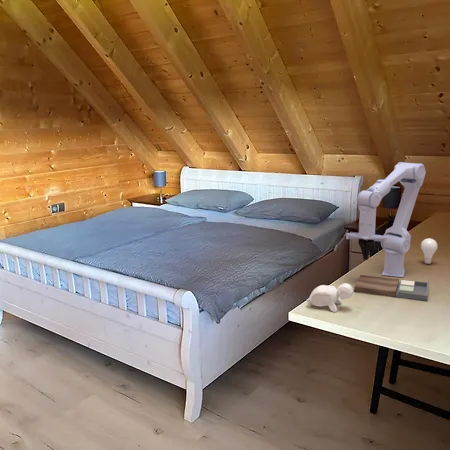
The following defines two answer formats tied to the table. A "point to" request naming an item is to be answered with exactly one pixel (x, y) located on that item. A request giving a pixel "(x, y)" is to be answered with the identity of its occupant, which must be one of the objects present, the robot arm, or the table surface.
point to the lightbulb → (428, 249)
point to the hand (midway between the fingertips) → (365, 259)
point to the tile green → (406, 289)
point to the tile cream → (407, 283)
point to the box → (415, 291)
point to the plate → (377, 285)
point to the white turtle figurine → (330, 295)
